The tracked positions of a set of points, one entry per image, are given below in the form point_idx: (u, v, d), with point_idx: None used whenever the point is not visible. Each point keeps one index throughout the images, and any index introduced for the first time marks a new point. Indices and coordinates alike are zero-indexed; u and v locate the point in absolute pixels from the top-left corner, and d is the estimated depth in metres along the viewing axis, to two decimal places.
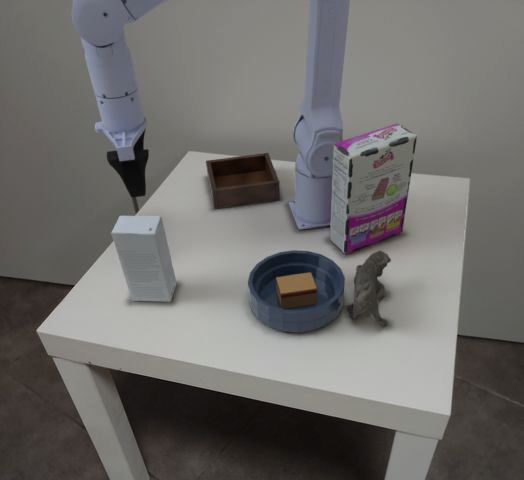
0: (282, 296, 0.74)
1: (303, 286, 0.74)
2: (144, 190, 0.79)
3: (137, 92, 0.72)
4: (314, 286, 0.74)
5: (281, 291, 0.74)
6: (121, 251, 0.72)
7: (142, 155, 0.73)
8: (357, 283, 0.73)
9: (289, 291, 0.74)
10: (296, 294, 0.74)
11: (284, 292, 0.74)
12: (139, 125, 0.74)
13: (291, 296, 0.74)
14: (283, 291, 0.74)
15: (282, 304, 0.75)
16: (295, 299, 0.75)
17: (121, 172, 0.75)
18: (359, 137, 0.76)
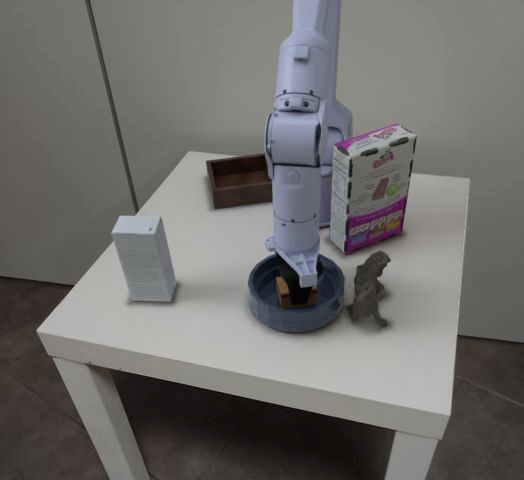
0: (282, 296, 0.74)
1: None
2: (307, 298, 0.74)
3: (319, 212, 0.66)
4: (314, 286, 0.74)
5: (281, 291, 0.74)
6: (121, 251, 0.72)
7: (317, 270, 0.69)
8: (357, 283, 0.73)
9: None
10: None
11: (284, 292, 0.74)
12: (316, 244, 0.68)
13: None
14: (283, 291, 0.74)
15: (282, 304, 0.75)
16: None
17: (291, 285, 0.70)
18: (359, 137, 0.76)
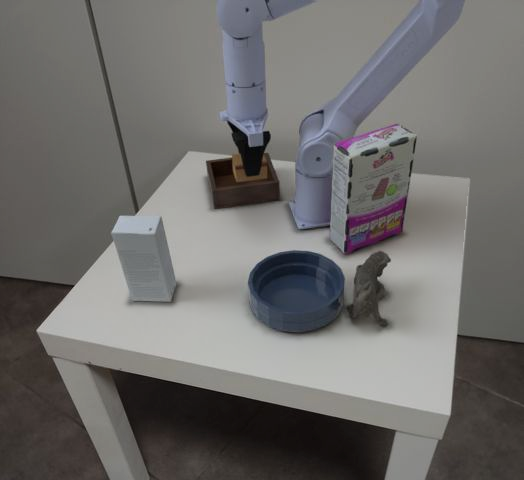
0: (236, 168, 0.84)
1: None
2: (259, 170, 0.84)
3: (265, 82, 0.77)
4: (264, 159, 0.84)
5: (235, 163, 0.84)
6: (121, 251, 0.72)
7: (265, 136, 0.79)
8: (357, 283, 0.73)
9: (242, 163, 0.84)
10: None
11: (238, 164, 0.84)
12: (263, 113, 0.79)
13: None
14: (237, 163, 0.84)
15: (237, 176, 0.85)
16: None
17: (243, 152, 0.81)
18: (359, 137, 0.76)
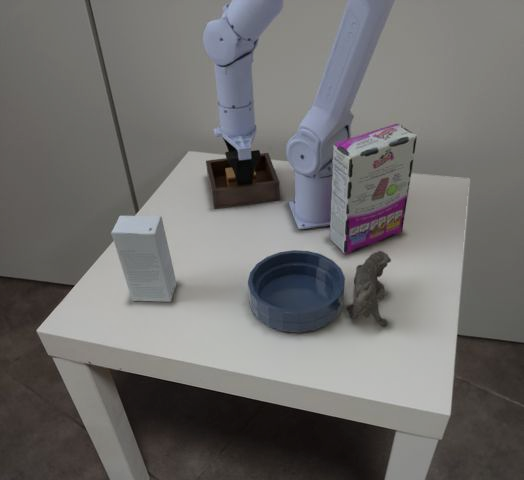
0: (229, 180, 0.95)
1: None
2: None
3: (253, 103, 0.87)
4: (254, 173, 0.95)
5: (228, 176, 0.95)
6: (121, 251, 0.72)
7: (255, 155, 0.88)
8: (357, 283, 0.73)
9: (234, 176, 0.95)
10: None
11: (230, 177, 0.94)
12: (252, 130, 0.89)
13: (236, 181, 0.95)
14: (229, 176, 0.95)
15: None
16: None
17: (236, 169, 0.90)
18: (359, 137, 0.76)
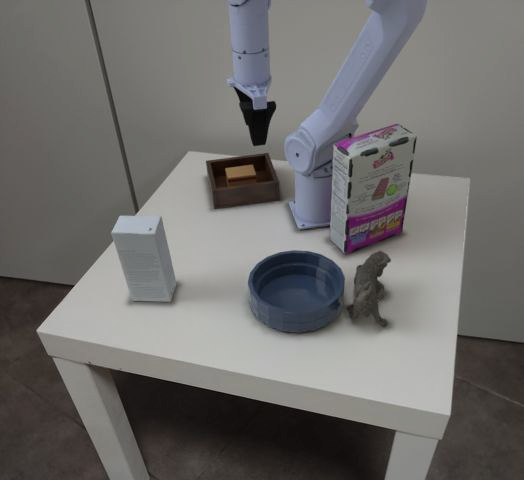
0: (229, 180, 0.95)
1: (245, 173, 0.95)
2: (265, 139, 0.89)
3: None
4: (254, 173, 0.95)
5: (228, 176, 0.95)
6: (121, 251, 0.72)
7: (271, 106, 0.84)
8: (357, 283, 0.73)
9: (234, 176, 0.95)
10: (240, 179, 0.95)
11: (230, 177, 0.94)
12: (267, 79, 0.84)
13: (236, 181, 0.95)
14: (229, 176, 0.95)
15: None
16: (240, 184, 0.96)
17: (250, 121, 0.85)
18: (359, 137, 0.76)
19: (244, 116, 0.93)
